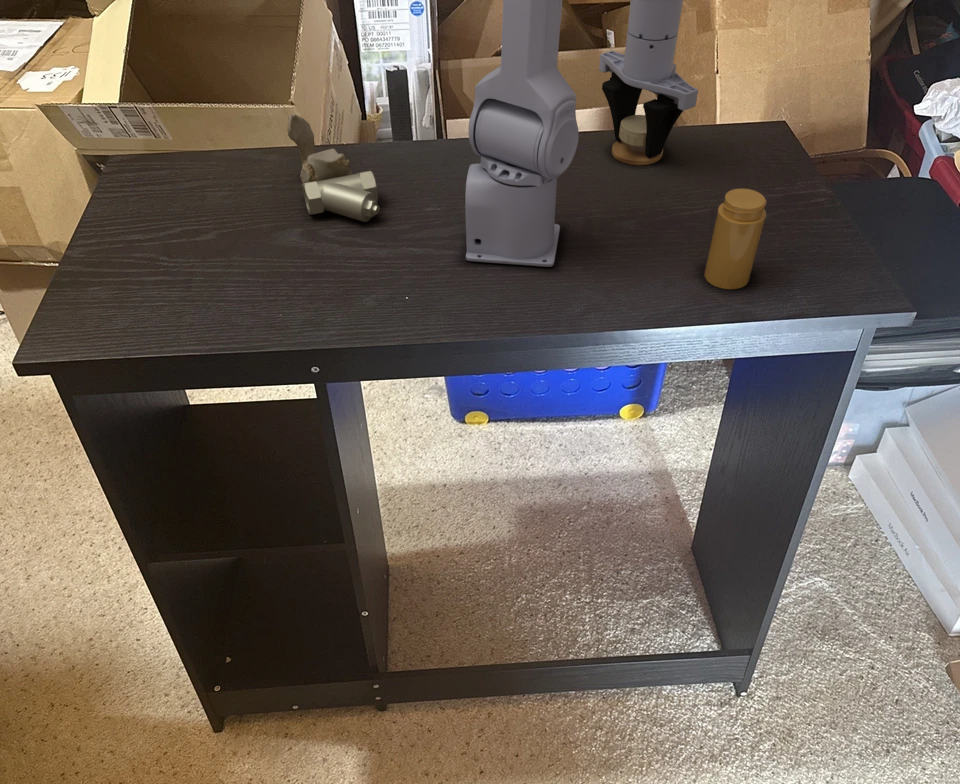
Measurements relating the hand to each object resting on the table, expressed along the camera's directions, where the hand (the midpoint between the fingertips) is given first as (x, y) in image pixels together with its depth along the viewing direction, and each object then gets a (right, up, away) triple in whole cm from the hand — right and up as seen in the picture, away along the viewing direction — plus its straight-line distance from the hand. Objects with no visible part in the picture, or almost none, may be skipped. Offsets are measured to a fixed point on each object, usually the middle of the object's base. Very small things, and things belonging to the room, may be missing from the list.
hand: (637, 146), depth 105 cm
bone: (-39, -7, -4) cm, 39 cm away
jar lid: (0, +2, -2) cm, 3 cm away
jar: (+6, -21, -18) cm, 28 cm away
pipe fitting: (-35, -11, -8) cm, 38 cm away
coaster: (0, -1, +1) cm, 1 cm away
